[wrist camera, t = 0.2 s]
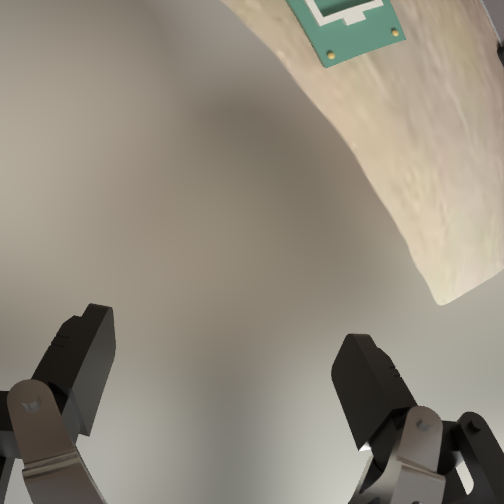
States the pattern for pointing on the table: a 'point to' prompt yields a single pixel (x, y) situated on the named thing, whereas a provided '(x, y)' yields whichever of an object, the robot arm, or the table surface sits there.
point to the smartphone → (495, 17)
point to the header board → (347, 27)
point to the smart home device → (501, 54)
